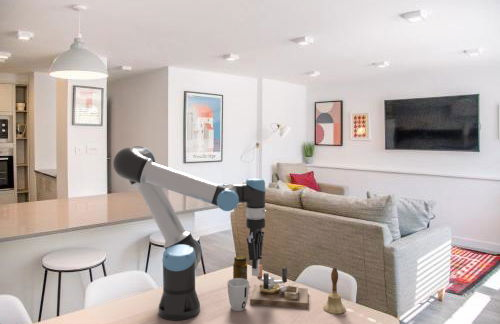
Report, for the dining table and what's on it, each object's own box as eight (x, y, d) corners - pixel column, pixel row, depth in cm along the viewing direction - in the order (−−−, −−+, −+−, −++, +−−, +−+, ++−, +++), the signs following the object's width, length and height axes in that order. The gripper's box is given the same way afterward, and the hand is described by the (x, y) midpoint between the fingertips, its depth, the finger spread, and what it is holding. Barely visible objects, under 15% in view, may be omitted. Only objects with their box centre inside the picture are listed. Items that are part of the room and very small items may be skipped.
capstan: (289, 299, 150) (289, 275, 150) (258, 299, 150) (258, 275, 149) (285, 286, 163) (285, 263, 162) (257, 286, 163) (257, 264, 162)
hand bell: (321, 311, 145) (322, 269, 144) (325, 302, 153) (326, 262, 152) (343, 315, 142) (345, 273, 141) (347, 306, 150) (348, 265, 149)
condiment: (246, 280, 175) (246, 254, 174) (250, 288, 167) (250, 260, 166) (230, 282, 173) (230, 255, 172) (233, 289, 165) (233, 261, 164)
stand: (250, 304, 151) (250, 293, 151) (254, 289, 165) (254, 279, 165) (307, 308, 148) (307, 296, 148) (307, 293, 162) (307, 282, 161)
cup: (246, 313, 143) (246, 287, 142) (224, 311, 145) (225, 285, 144) (250, 304, 151) (250, 279, 150) (230, 302, 153) (230, 277, 152)
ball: (278, 294, 155) (278, 286, 155) (279, 291, 158) (279, 283, 158) (286, 295, 154) (286, 287, 154) (287, 292, 158) (287, 284, 157)
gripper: (258, 221, 148) (258, 282, 150) (270, 215, 160) (270, 271, 162) (240, 220, 151) (240, 279, 153) (253, 213, 163) (253, 268, 165)
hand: (255, 275), depth 157 cm, fingers closed
